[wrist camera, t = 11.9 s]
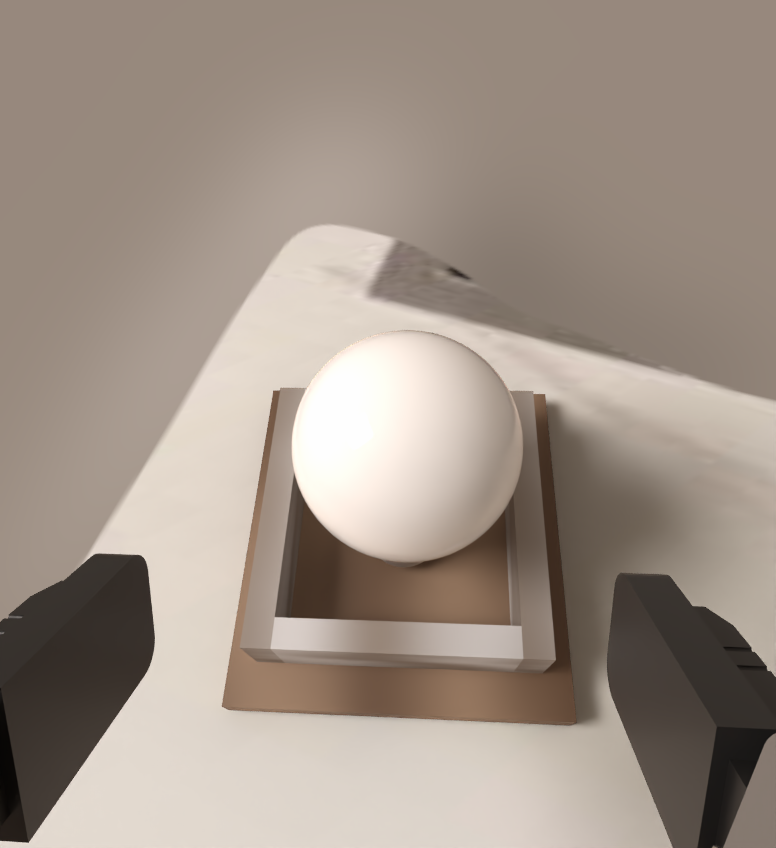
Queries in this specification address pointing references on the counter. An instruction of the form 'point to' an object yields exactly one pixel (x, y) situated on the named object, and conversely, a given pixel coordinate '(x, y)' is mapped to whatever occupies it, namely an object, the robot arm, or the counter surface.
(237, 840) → the counter surface
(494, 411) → the lightbulb
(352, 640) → the socket board
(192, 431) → the counter surface
